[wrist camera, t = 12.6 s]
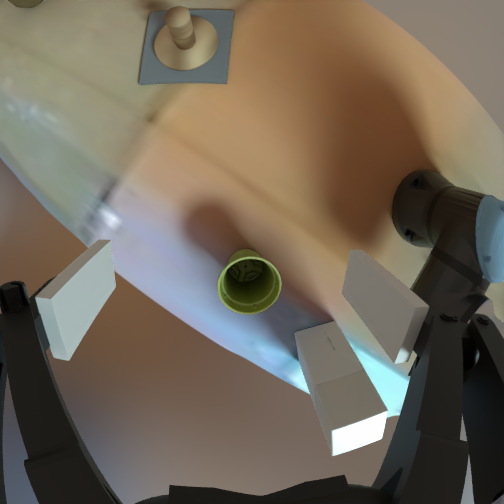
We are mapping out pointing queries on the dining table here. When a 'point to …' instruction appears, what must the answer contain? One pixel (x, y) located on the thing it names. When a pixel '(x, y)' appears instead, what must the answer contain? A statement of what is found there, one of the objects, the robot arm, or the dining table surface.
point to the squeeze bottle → (25, 3)
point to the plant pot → (248, 283)
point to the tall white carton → (340, 389)
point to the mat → (206, 73)
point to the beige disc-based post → (185, 40)
